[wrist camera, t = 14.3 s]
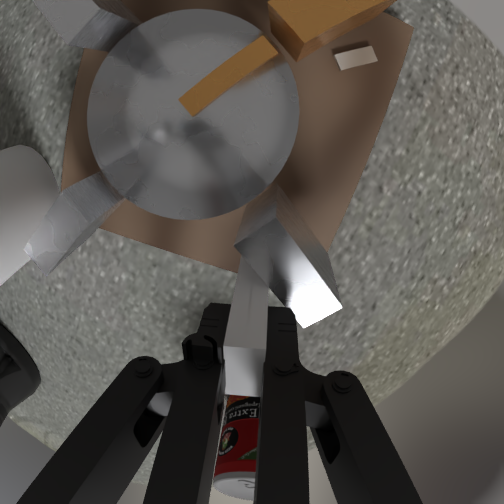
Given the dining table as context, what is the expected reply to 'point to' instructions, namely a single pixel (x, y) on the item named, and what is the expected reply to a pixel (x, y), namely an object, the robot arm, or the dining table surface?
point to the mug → (22, 203)
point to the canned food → (238, 448)
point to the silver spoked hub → (200, 131)
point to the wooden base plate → (306, 142)
